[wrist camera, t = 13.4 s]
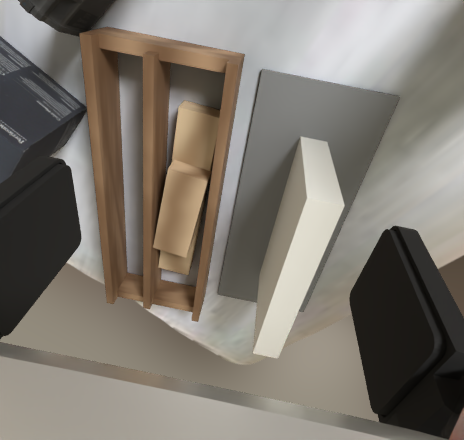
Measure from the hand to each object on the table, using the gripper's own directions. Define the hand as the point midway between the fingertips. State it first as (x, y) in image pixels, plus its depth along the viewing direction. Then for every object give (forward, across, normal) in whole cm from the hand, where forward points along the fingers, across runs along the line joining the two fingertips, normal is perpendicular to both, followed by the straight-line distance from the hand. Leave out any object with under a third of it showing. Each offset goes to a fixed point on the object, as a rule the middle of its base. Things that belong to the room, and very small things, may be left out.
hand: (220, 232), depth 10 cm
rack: (+28, +9, +18) cm, 35 cm away
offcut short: (+26, +7, +18) cm, 32 cm away
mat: (+28, -7, +18) cm, 34 cm away
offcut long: (+29, +6, +18) cm, 34 cm away
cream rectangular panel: (+28, -7, +18) cm, 34 cm away
